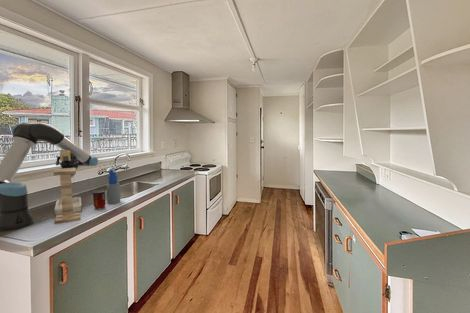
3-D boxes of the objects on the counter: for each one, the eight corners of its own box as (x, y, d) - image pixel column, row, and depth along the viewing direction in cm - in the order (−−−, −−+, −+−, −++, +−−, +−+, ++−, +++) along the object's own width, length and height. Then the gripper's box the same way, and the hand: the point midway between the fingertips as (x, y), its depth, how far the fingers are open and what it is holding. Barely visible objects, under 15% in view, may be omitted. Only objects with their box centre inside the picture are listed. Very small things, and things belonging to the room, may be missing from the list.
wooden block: (62, 158, 155) (61, 149, 154) (71, 158, 158) (70, 149, 157) (60, 161, 140) (60, 151, 140) (70, 160, 143) (69, 151, 142)
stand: (56, 217, 138) (53, 169, 136) (80, 213, 145) (77, 167, 142) (54, 224, 127) (51, 172, 124) (80, 220, 134) (77, 170, 131)
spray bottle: (122, 201, 171) (121, 169, 169) (111, 204, 164) (109, 170, 161) (116, 199, 176) (114, 168, 173) (104, 202, 168) (102, 169, 166)
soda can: (107, 205, 161) (106, 189, 160) (103, 209, 154) (102, 191, 153) (96, 206, 159) (95, 189, 158) (92, 209, 152) (91, 192, 151)
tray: (57, 205, 161) (57, 199, 161) (81, 202, 169) (80, 196, 169) (54, 216, 140) (54, 209, 140) (81, 211, 148) (81, 205, 148)
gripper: (81, 170, 170) (80, 157, 152) (54, 172, 161) (50, 158, 143) (80, 161, 172) (80, 147, 155) (54, 163, 163) (50, 148, 145)
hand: (65, 153), depth 149 cm, fingers closed on wooden block, 3 cm apart
